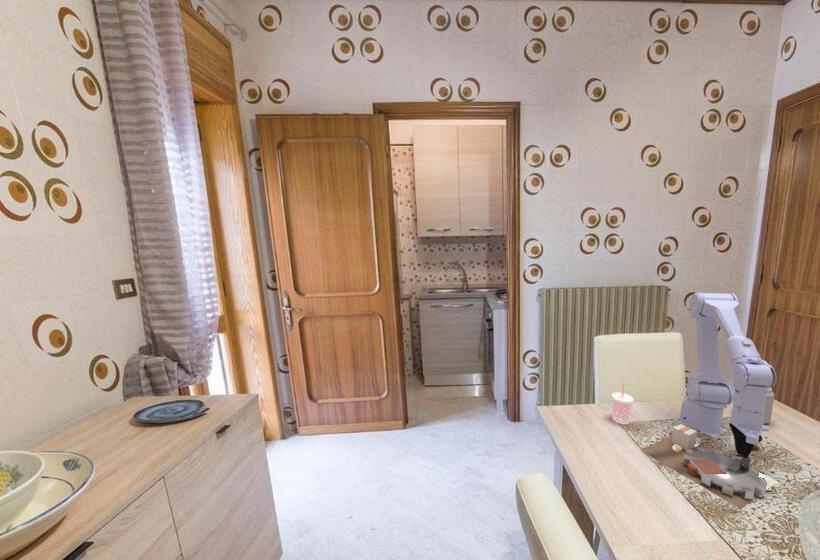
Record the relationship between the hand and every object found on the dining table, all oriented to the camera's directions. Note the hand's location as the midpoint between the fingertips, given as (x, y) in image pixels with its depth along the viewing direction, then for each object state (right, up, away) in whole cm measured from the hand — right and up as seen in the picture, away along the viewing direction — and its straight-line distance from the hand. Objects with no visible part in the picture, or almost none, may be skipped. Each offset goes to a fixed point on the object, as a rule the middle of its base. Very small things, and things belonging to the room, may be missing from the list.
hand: (741, 454), depth 86 cm
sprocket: (-8, -5, -3) cm, 10 cm away
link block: (-8, -2, +9) cm, 12 cm away
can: (+26, 0, +21) cm, 33 cm away
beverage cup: (-18, -1, +22) cm, 29 cm away
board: (-9, -4, +1) cm, 10 cm away
